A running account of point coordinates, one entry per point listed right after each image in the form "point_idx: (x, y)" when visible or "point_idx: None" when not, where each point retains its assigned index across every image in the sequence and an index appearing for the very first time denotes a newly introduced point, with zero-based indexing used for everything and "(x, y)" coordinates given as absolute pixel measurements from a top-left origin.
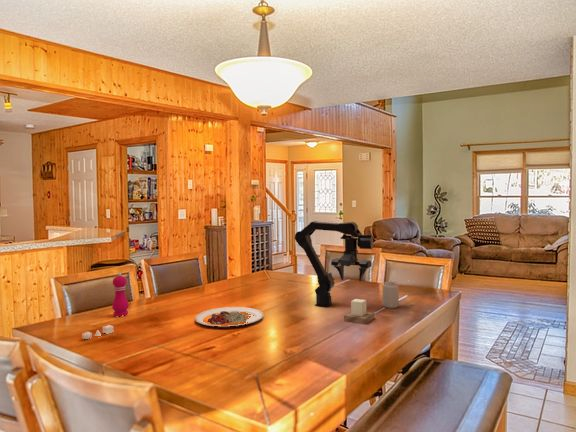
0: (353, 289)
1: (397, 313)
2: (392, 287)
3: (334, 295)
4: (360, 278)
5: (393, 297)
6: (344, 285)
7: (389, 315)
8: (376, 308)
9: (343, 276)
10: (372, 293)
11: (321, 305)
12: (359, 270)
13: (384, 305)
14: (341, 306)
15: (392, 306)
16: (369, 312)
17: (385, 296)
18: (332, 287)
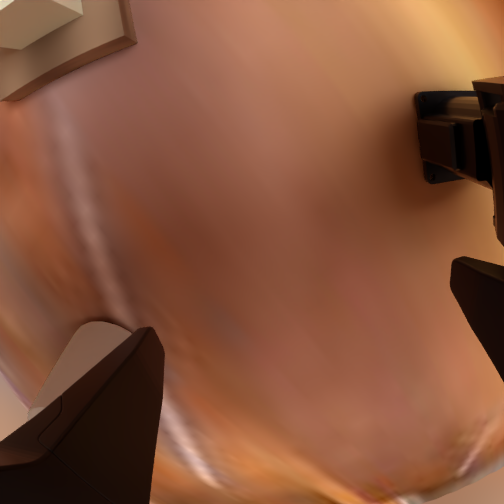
0: (424, 441)
1: (15, 268)
2: (29, 411)
3: (474, 343)
4: (108, 357)
5: (53, 368)
6: (463, 443)
7: (9, 210)
8: (139, 285)
9: (474, 325)
10: (335, 454)
11: (449, 94)
12: (14, 464)
13: (113, 326)
14: (351, 178)
15: (76, 332)
16: (20, 83)
17: (84, 362)
18: (494, 208)
